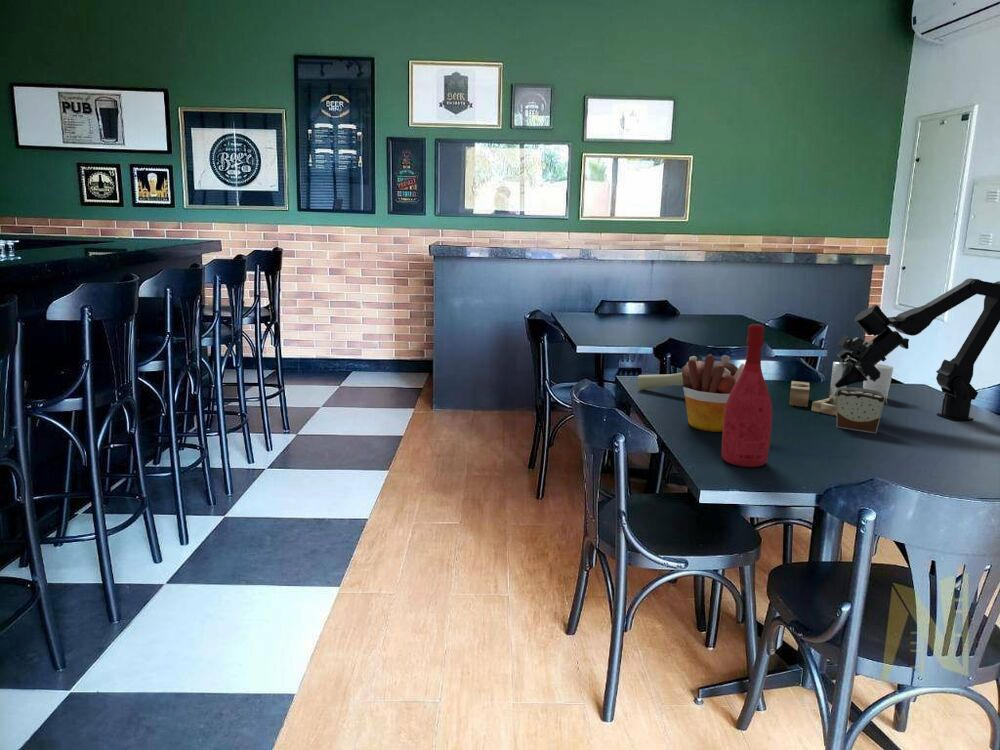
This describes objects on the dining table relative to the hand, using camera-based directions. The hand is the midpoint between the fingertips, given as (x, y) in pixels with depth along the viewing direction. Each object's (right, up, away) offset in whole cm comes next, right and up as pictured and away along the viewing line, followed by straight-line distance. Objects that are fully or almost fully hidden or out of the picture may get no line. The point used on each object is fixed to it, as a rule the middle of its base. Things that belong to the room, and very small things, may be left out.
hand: (833, 385), depth 206 cm
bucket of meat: (-40, -11, -19) cm, 45 cm away
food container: (-1, -11, -16) cm, 19 cm away
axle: (+1, -7, +1) cm, 7 cm away
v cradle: (-1, -7, +2) cm, 8 cm away
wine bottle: (-41, -16, -47) cm, 64 cm away
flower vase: (-36, -4, +14) cm, 39 cm away
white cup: (+23, -4, +21) cm, 31 cm away
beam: (-5, -5, +13) cm, 14 cm away
